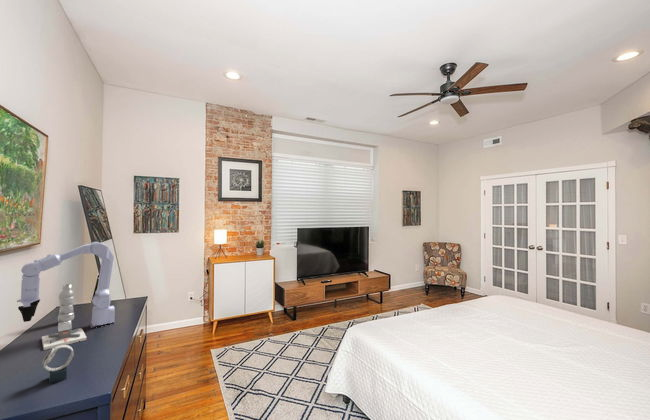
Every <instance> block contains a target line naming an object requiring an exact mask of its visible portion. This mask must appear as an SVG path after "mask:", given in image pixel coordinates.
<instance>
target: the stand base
mask: <svg viewBox="0 0 650 420" xmlns="http://www.w3.org/2000/svg"><path fill="white" fill-rule="evenodd" d="M87 337H88V336H86V333H85V332H84V330H83V329H82V327H81V328H80V327H79V328H75V329H69V330H65V331H60V332H57V333H50V334H47V335H44V336H43V335H42V336H41V344H42V348H43V351H45V350H51V349H52V348H55V347H56V346H60V345H71V344H75V343H80V342H83V341H87ZM79 341H80V342H79Z"/></svg>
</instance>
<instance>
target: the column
mask: <svg viewBox="0 0 650 420" xmlns="http://www.w3.org/2000/svg"><path fill="white" fill-rule="evenodd" d="M72 326H73V322H72V321H66V322H61V323H59V322H58V323H57V331H58V332H60V331H65V330H69V329H71V330H73V329H72V328H73V327H72ZM58 332H57V333H58Z"/></svg>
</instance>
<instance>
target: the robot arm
mask: <svg viewBox="0 0 650 420" xmlns="http://www.w3.org/2000/svg"><path fill="white" fill-rule="evenodd" d="M82 254H83V255H85V254H87V255H88V254H90V255H91V254H92V255H95V256H97V257H98V258H99V259H100V260H101V263H100V270H99V275H98V276H99V277H98V283H97V288H96V290H95V294H94V296H93V297H92V299H91V303H92V304H93V306H92V309H91V314H92V315H91V323H92V325H93V326H95V325H103V324H107V323H112V322H115V318H116V316H115V315H116V309H115V306H114V305H111V302H112V300H111V296H110V294H111V293H110V283H111V277H112V271H113V264H114V254H113V253H112V251H111V249H110V247H109V245H107V244H105V243H103V242H99V241H92V242H90V243H86V244H83V245H81V246H77V247H75V248H73V249H71V250H68V251H65V252H63V253H61V254H55V253H54V254H50V253H49V254H47V255H46V256H45V257H42V258H40V259H35V260H33V262H28V263H26V264H24V265H23V266H22V268H21V274H22V276H21V277H22V278H21V284H20V285H21V287H20V288H21V289H20V290H21V291H20V299H17V300H16V303H21V304H23V305H20V306H18V307H17V308H18V309H17V310H18V311H20V314H21V316H22V317H21V318H22V321H23V322H24V323H26V322H27V323H28V322H31V321H32V318H33V317H34V316H35V314H36V310H37V308H38V304H39V303H40V301H41V299H40V273H41V272H44V271H48V270H50V269H53V268H54V267H57V266H60V265H61V264H62V262H63V261H66V260H68V259H71V258H73V257H77V256H79V255H82Z"/></svg>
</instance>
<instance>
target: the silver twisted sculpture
mask: <svg viewBox="0 0 650 420" xmlns="http://www.w3.org/2000/svg"><path fill="white" fill-rule="evenodd" d="M75 295H76V293H75V291H74V289H73V285H72V284H71V283H70V284H64V285H62V290H61V292H60V293H59V294H58V301H59V309H58V310H59V311H58V312H59V313H58V316H57V321H58V323H61V322H66V321H71V322H72V321H73V320H74V319H75V312H74V301H75Z"/></svg>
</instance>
